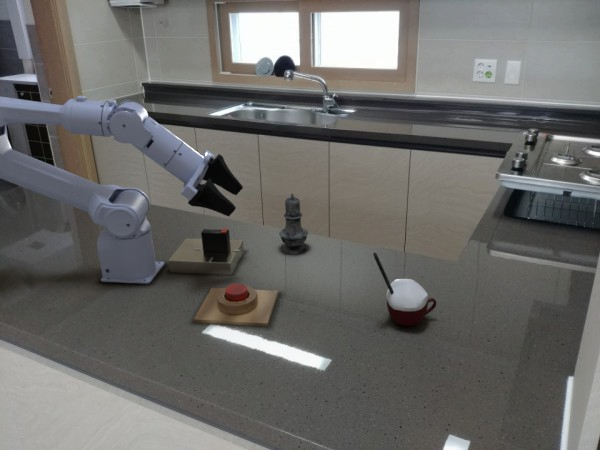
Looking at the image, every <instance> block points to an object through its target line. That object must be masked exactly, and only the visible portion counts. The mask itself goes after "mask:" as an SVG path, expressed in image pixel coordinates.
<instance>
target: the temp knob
mask: <svg viewBox="0 0 600 450" xmlns="http://www.w3.org/2000/svg"><path fill="white" fill-rule="evenodd" d="M200 236H201V239H202V245H203V252H229V250H230V249H231V247H230V240H231V238H230V229H228V228H221V229H217V228H214V229H213V228H204V229H203V230H202V231H201V232H200Z"/></svg>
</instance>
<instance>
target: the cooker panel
mask: <svg viewBox="0 0 600 450" xmlns="http://www.w3.org/2000/svg"><path fill="white" fill-rule="evenodd" d="M230 247H231V249H230V250H229V252H203V245H202V238H190V237H189V238H188V237H186V238H185V239H184V240H183V241H182V243H180V245H179V246H178V248H177V249H176V250H175V251H174V253H173V254H172V255H171V257H170V258H169V259H168V267H169V273H182V274H183V273H184V274H185V273H186V274H204V275H205V274H206V275H224V276H225V275H228V276H232V274H233V273H234V271H235V269H236V267H237V265H238V264H239V262H240V260H241V257H242V256H243V254H244V252H245V247H244V240H243V239H230Z"/></svg>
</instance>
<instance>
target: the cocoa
mask: <svg viewBox="0 0 600 450" xmlns="http://www.w3.org/2000/svg"><path fill="white" fill-rule="evenodd" d="M373 257H374V260H375V262H376V264H377V267H378V269H379V271H380V273H381V276H382V277H383V280H384V282H385V284H386V286H387V291H386V296H385V297H386V309H387V311H388V314H389V317H390V319H391V320H392V321H393V322H394V323H396V324H397V325H399V326H403V327H413V326H417V325H419V324H420V323H422V321H423V320H424V319H425V317H426V316H427V315H429V314H430V313H431V312H433V310H434V309H435V308H436V306H437V301H436V299H435V298H433V297H430V298H429V294H428V293H427V291H426V290H425V288H424V287H423V286H422V285H421V284H419V283H418V282H417V281H416V280H414V279H410V278H397V279H394V280H393V281H392V282H390V280H389V278H388V276H387V274H386V272H385V269H384V267H383V264H382V263H381V261H380V258H379V255H378V254H377V253H376V252H373ZM431 302H432V305H431V306H430V307H429V308H428V305H429V303H431Z"/></svg>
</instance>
